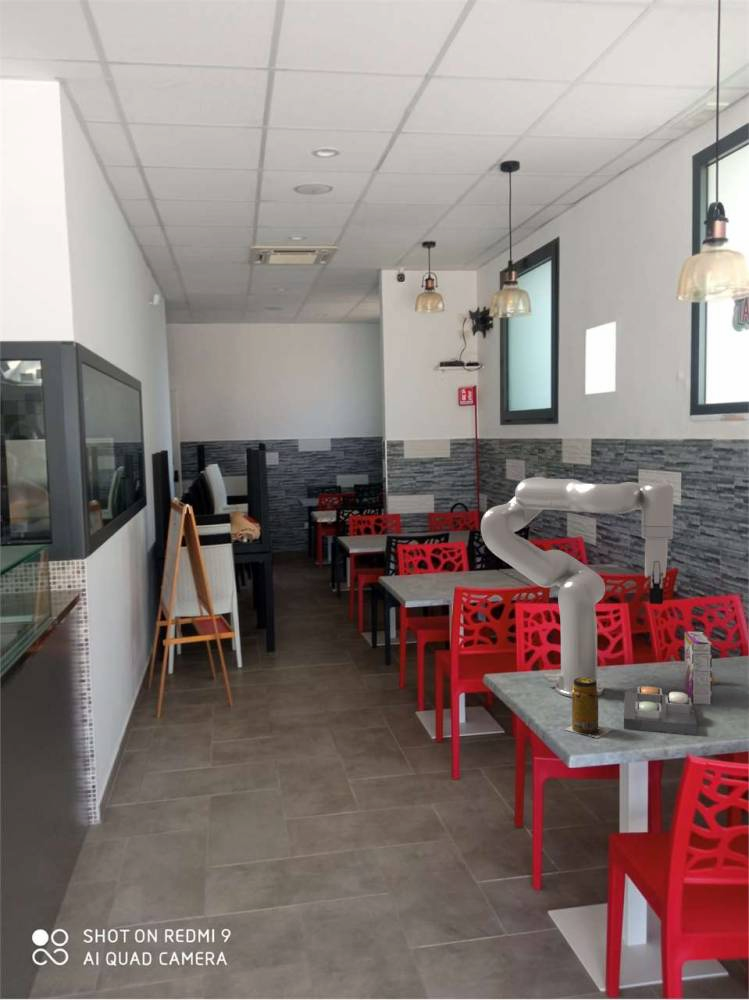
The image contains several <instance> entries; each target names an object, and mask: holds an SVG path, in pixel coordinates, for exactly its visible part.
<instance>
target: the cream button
mask: <svg viewBox="0 0 749 1000" xmlns="http://www.w3.org/2000/svg"><path fill="white" fill-rule="evenodd" d="M668 695H669V703H673V704H686V705H687V704H688V695H687V693H686V692H681V691H671V692H669V694H668Z"/></svg>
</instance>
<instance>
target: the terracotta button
mask: <svg viewBox="0 0 749 1000" xmlns="http://www.w3.org/2000/svg"><path fill="white" fill-rule="evenodd" d="M658 688H659V687H655V686H648V685H646V686H644V685H643V686H641V693H647V694H658Z"/></svg>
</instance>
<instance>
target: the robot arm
mask: <svg viewBox="0 0 749 1000" xmlns="http://www.w3.org/2000/svg"><path fill="white" fill-rule="evenodd" d="M543 510H549V511H550V510H551V511H553V510H554V511H564V512H565V511H570V512H577V513H579V512H582V513H592V514H611V515H615V514H616V515H617V514H618V515H619V514H620V515H622V514H627V513H630V512H632V511H635V510H636V511H637V510H641V538H642V539H645V546H644V548H645V549H644V577H645V578H649V577H650V586H649V604H651V605H653V604H654V605H663V604H664V587H663V579H664V578H666V574H667V565H668V547H669V545H668V540H673V539H674V487H673V486H672V485H671V484H668V483H657V482H655V483H643V482H642V483H640V482H635V481H626V482H621V483H618V484H617V483H614V484H613V483H611V484H610V483H607V484H605V483H589V482H588V483H587V482H581V481H580V480H577V479H574V478H566V479H565V478H547V477H542V476H536V477H529V478H525V479H522V480H521V481H520V482H519V483H518V484H517V485H516V487H515V490H514V496H513V497H512V498H511V499H510V500H509V501H508V502H506V503H505V504H500V505H496V506H493V507H491V508H489V509H488V510H487V511H485V513H484V514H483V516H482V518H481V522H480V535H481V537H482V540H483V542H484V544H485V545H486V547H487V549H488V550H489V551H490V552H491V553H492V554H494V555H495V556H496V557H497V558H499V559H500V560H502V561H503V562H505V563H506V564H508V565H509V566H510V567H512V568H513V569H515V570H516V571H517V572H519V573H520V574H521V575H523V576H525V577H526V578H527V579H528V580H530V581H532V582H533V583H534V584H535V585H537V586H539V587H541V588H552V587H554V586H557V587H559V590H558V593H557V594H558V596H557V599H558V600H557V602H558V608H559V617H560V618H559V619H560V670H559V672H556V673H551V672H550V673H548V672H545V673H544V681H547V682H548V683H555V685H554V688H555V689H554V690H555V692H557V693H558V694H560V695H562V696H565V697H569V698H570V697H571V698H572V691H573V689H574V687H573V686H574V679H576V678H578V677H588V678H592V679H595V680H596V683H597V684H596V686H597V692H598V697H599V696H601V695H602V694H603V693H604V687H603V686H602V685H601V684H599V683H598V626H597V625H598V624H597V614H596V604H597V603H599V602H600V601H601V600H602V599H603V597H604V596H605V592H606V584H605V581H604V580H603V578H602V577H601V575H600V574H599V573H597V572H596V571H594V570H593V569H592V568H590V567H588V566H587V565H586V564H584V563H582V562H581V561H579V560H578V559H576V558H575V557H573V556H571V555H570V554H568V553H567V552H565V551H563V550H559V549H549V550H543V549H541V548H539V547H538V546H536V545H535V544H533V543H532V542H531V541H529V540H528V539H525V538H524V537H522V536H519V535H517V533H515V532H518V531H520V530H521V529H523V528H524V527H526V526H527V525H528V524H529V523H530V522H531V521H532V520H533V519H534V518H536V517H537V516H539V514H540V513H541V512H543Z"/></svg>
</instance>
